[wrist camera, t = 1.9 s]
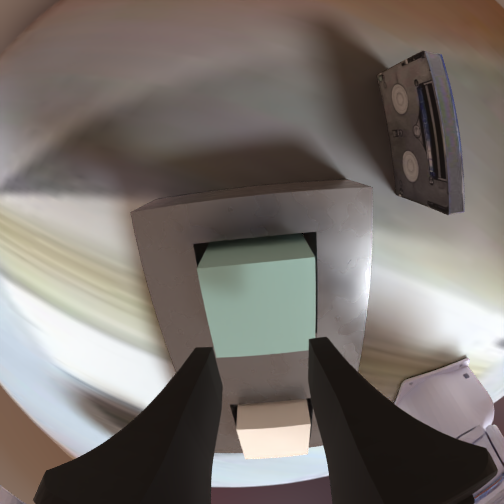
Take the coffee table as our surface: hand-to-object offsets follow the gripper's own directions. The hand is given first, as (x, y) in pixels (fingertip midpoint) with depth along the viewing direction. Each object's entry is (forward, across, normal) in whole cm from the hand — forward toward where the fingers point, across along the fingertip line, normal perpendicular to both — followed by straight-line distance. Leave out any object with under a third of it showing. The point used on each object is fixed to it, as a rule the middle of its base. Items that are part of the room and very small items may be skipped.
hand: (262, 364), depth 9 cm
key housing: (+9, 0, +6) cm, 11 cm away
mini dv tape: (+10, -10, -8) cm, 16 cm away
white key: (+7, 0, +12) cm, 14 cm away
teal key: (+7, 0, 0) cm, 7 cm away
